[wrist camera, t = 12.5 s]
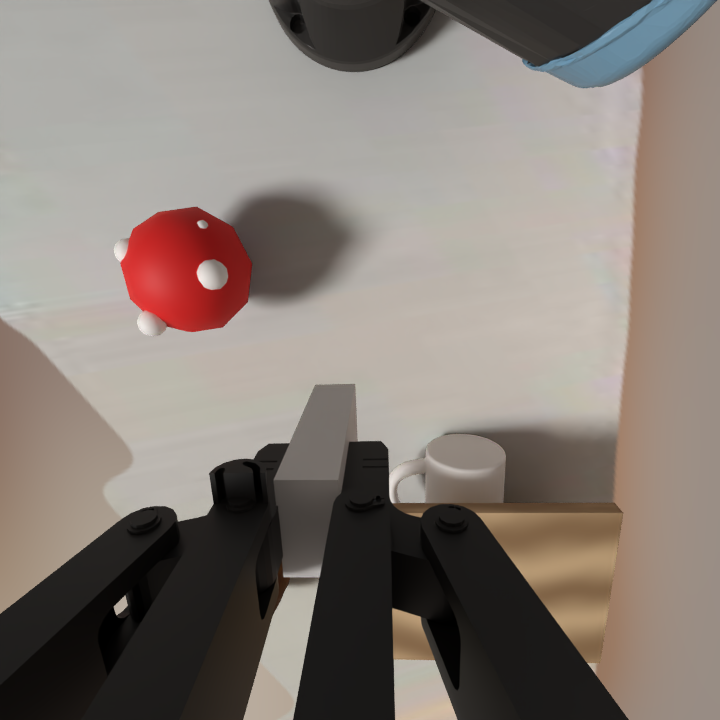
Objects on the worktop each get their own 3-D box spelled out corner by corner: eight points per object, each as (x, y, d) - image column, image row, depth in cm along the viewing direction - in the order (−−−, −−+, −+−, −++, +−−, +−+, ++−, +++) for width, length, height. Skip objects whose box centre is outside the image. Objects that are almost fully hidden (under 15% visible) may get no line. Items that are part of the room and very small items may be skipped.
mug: (495, 432, 48) (516, 470, 41) (490, 510, 51) (510, 559, 43) (386, 433, 49) (386, 471, 41) (388, 510, 52) (389, 559, 44)
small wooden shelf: (343, 442, 49) (330, 513, 37) (560, 440, 48) (623, 512, 36) (349, 560, 54) (339, 658, 41) (548, 561, 52) (599, 663, 40)
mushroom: (162, 308, 46) (89, 333, 34) (168, 199, 43) (90, 187, 31) (261, 327, 46) (222, 359, 35) (275, 220, 43) (236, 216, 31)
